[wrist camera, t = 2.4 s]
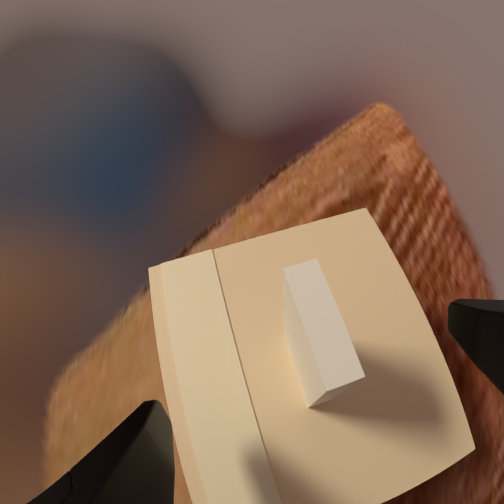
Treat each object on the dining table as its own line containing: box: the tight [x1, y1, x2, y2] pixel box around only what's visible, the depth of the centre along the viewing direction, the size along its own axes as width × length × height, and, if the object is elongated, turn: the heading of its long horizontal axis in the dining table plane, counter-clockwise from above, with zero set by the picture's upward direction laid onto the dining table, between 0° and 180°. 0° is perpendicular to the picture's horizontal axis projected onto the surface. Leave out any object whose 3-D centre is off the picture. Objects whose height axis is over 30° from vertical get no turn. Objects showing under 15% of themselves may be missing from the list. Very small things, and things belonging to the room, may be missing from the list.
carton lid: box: [149, 208, 475, 504], centre depth 8 cm, size 12×10×6 cm
